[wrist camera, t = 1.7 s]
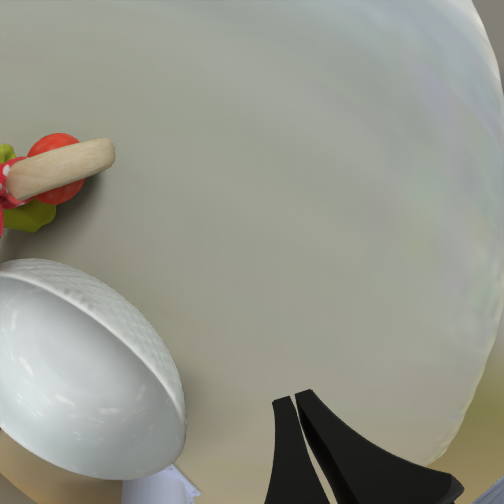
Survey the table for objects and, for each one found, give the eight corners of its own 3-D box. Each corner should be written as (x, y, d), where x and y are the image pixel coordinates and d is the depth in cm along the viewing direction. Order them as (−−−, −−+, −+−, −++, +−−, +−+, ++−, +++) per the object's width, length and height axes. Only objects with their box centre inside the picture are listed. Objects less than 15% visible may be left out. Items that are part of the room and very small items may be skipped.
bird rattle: (97, 114, 16) (-18, 159, 11) (118, 28, 6) (-100, 126, 2) (116, 200, 18) (2, 247, 13) (151, 201, 8) (-71, 299, 4)
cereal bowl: (235, 357, 20) (251, 430, 13) (111, 438, 21) (100, 494, 14) (62, 181, 15) (-6, 194, 8) (-22, 322, 16) (-62, 364, 9)
